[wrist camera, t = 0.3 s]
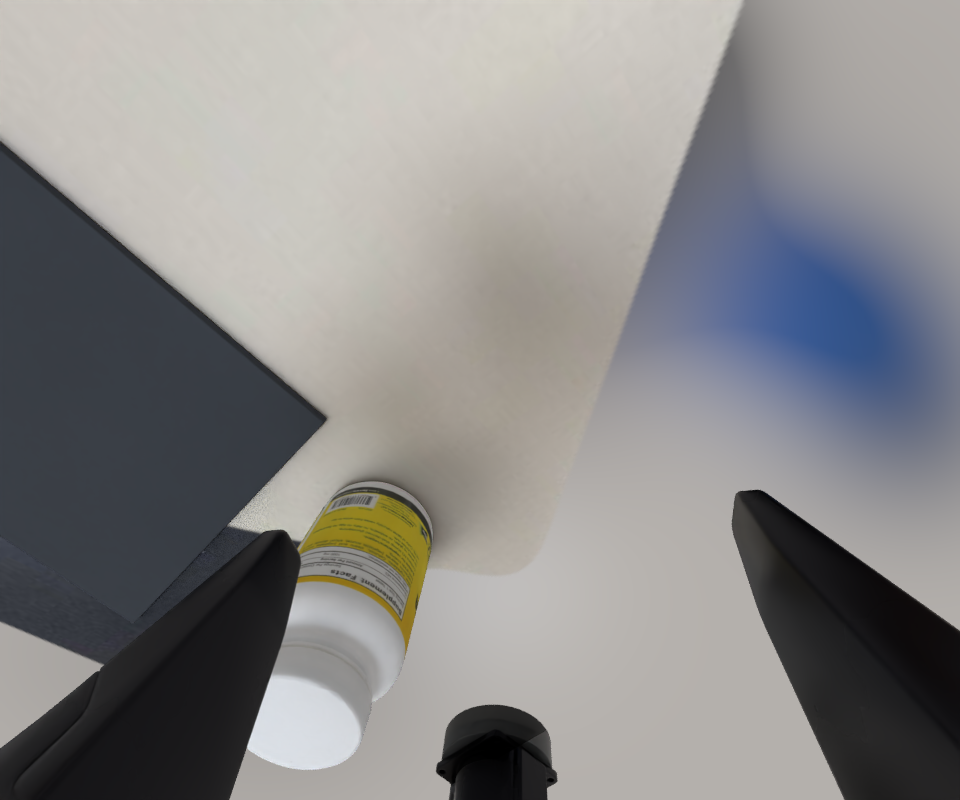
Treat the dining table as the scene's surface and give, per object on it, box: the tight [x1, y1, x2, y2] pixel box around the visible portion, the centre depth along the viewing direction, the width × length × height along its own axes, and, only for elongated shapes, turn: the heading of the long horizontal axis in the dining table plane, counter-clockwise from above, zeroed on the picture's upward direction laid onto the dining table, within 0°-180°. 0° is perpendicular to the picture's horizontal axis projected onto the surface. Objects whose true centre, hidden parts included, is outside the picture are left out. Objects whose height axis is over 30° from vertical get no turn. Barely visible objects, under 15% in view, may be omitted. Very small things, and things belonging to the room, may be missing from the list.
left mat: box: [0, 143, 326, 624], centre depth 25 cm, size 20×20×1 cm
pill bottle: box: [247, 481, 433, 770], centre depth 21 cm, size 6×6×11 cm
